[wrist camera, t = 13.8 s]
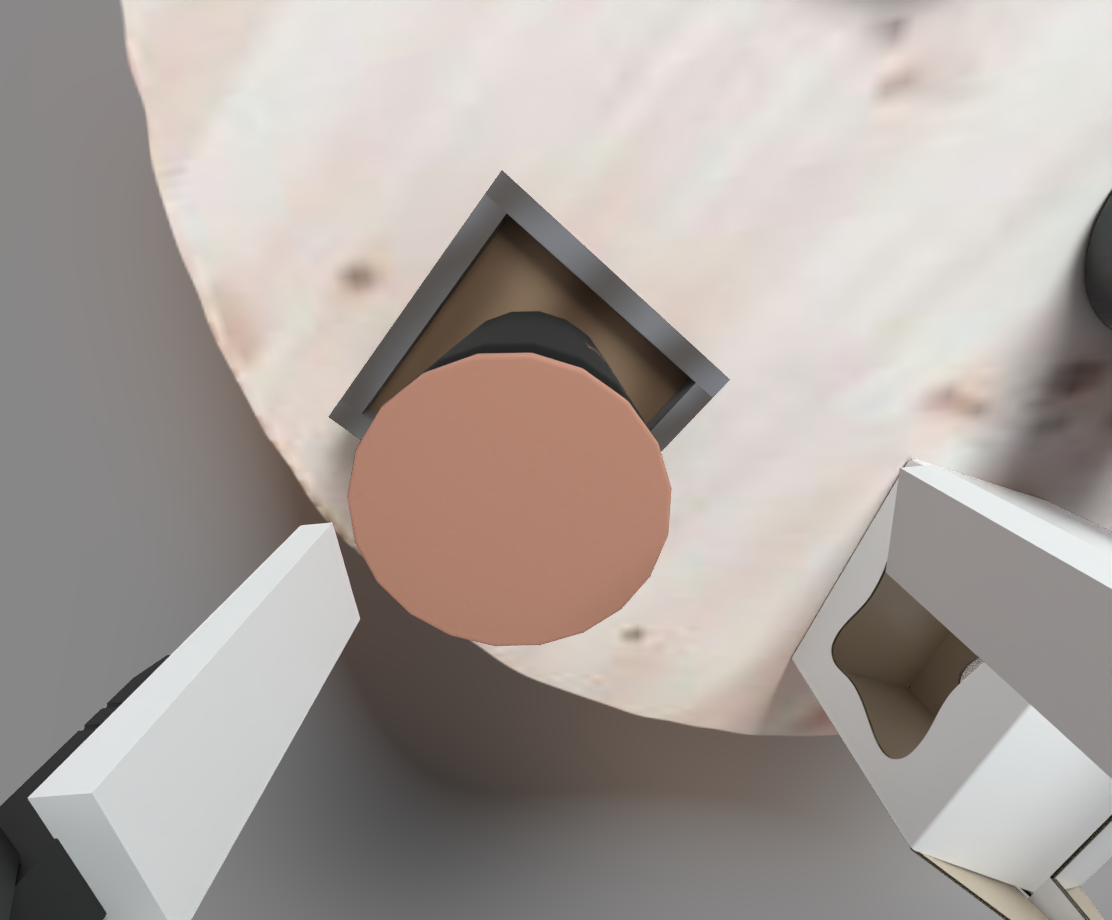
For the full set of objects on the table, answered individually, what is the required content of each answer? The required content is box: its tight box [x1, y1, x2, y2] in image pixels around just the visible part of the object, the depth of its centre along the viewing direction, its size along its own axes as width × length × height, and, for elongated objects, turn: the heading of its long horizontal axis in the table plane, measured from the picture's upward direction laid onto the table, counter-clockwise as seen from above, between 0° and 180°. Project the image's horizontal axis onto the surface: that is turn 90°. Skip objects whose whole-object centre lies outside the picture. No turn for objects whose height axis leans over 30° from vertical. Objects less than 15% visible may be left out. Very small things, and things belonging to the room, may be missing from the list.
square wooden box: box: [329, 171, 730, 451], centre depth 36 cm, size 18×18×8 cm
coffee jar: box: [348, 311, 671, 646], centre depth 25 cm, size 11×11×18 cm
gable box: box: [792, 458, 1112, 920], centre depth 33 cm, size 22×13×28 cm, turn 162°
